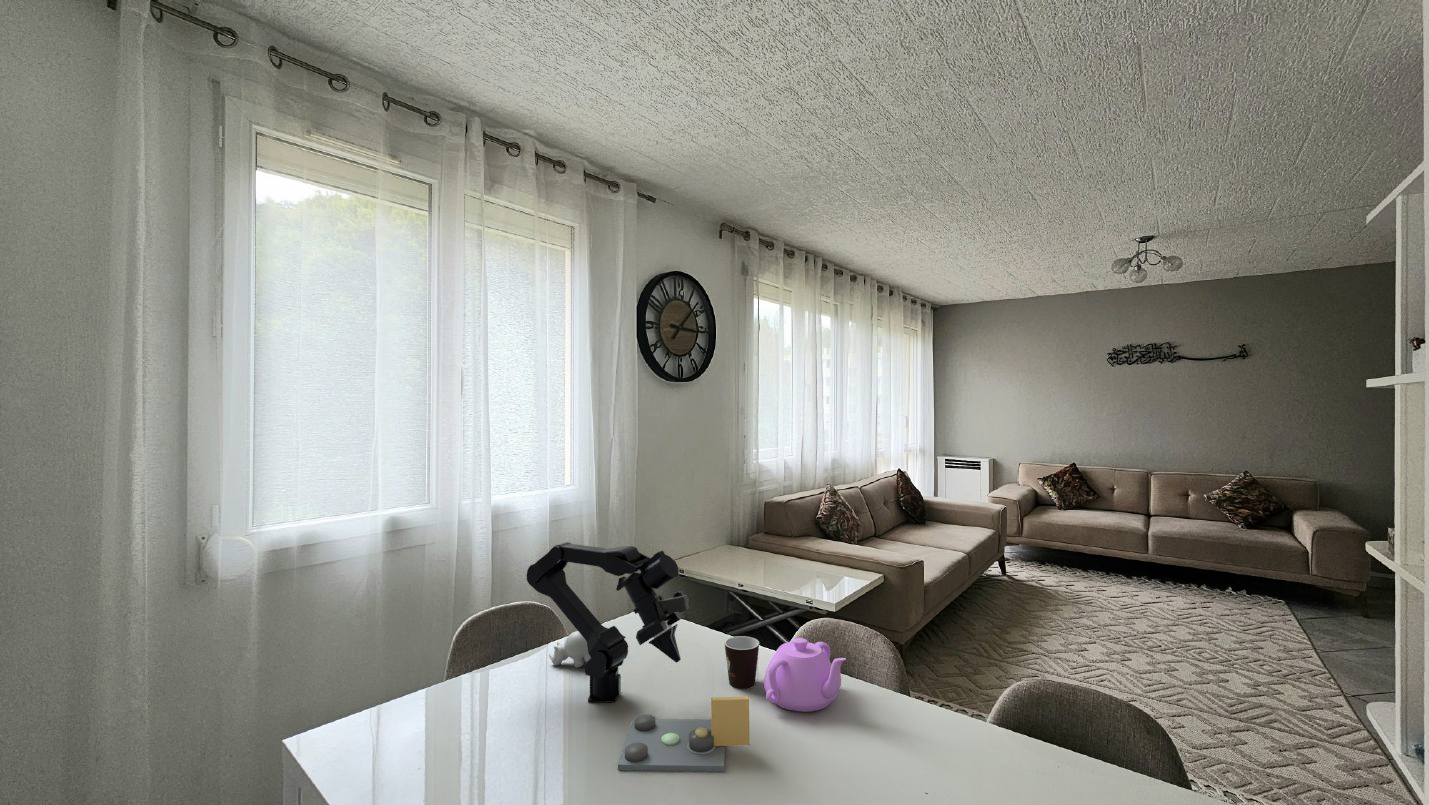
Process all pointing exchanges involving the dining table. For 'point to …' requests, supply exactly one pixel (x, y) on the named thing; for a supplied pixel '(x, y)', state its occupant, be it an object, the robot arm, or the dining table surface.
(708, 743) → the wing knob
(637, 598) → the robot arm
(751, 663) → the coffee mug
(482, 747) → the dining table surface
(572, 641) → the round bodied animal figurine
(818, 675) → the teapot
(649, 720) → the plate
